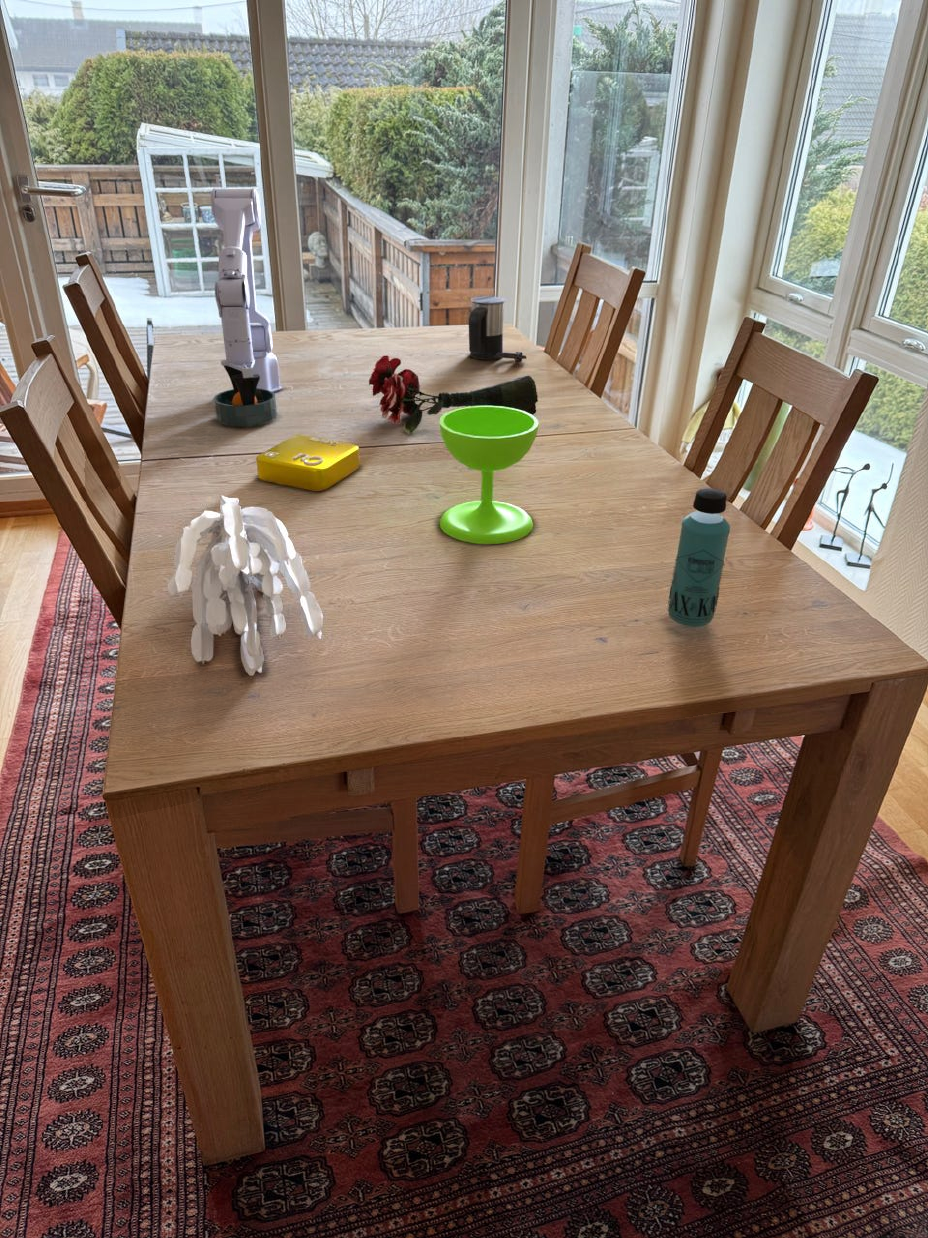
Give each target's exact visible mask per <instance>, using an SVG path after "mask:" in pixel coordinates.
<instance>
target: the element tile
mask: <svg viewBox="0 0 928 1238" xmlns="http://www.w3.org/2000/svg"><path fill="white" fill-rule="evenodd" d="M359 450H360V449H359V446H358V445H357V444H353V443H348V442H342V441H337V440H333V439H326V438H320V437H315V436H309V435H304V434H296V435H294V436H291V437H289V438H287V439H285V440H284V441H282V442H280V443H278V444H276V445H275V446H273V447H271V448H268V449H267V450H265V451H263V452H262V453H260V454H258V455H256V457H255V461H256V470H257V477H258V479H259V480H261V481H263V482H268V483H272V484H276V485H277V484H278V485H282V486H286V487H287V486H288V487H290V488H291V487H292V488H297V489H302V490H307V491H312V492H323V491H326V490H328V489H329V488H331V487H333V486H334V485H336V484H337V483H339V482H340V481H342V480H343V479H345V478H346V477H348V476H350V475H351V474H352V473H354V472H356V471H357V470H358V469H359V468H360V451H359Z"/></svg>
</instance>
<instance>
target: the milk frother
mask: <svg viewBox="0 0 928 1238" xmlns="http://www.w3.org/2000/svg"><path fill="white" fill-rule="evenodd" d="M470 301H471V311H470V314H469V317H468V350H469V351H468V352H470V353H469V356H470V357H471V358H474V359H478V360H487V361H488V360H498V359H513V360H514V362H515V363H522V362H523V360H526V359H527V355H524V354H523V352H522V351H516V352H515V353H514V352H504V315H505V314H504V313H505V311H504V310H505V302H506V299H505V298H503V297H499V296H491V295H483V296H480V295H479V296H475V297H471V298H470Z"/></svg>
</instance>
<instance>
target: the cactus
mask: <svg viewBox="0 0 928 1238" xmlns="http://www.w3.org/2000/svg"><path fill="white" fill-rule="evenodd" d="M239 501H240V499H239V498H238V497H227V496H225V495H222V494H221V495H220V496H219V512H216V511H212V510H204V511H203V513H202V514H201V515H200V516H197V517H195V518H194V519H192V520H190V524H189V525H188V526H184V527H183V528H182V533H181V536H180V538H179V539H178V540H177V542H176V544H175V552H174V557H173V567H174V570H175V572H174V574H173V575H172V577H171V579H170V581H169V582H168V584H166V587H167V591H168V594H169V595H170V596H176V595H178V597H179V598H180V600H183V594H184V593H186V592H187V591H188V590H189V588H190V589H191V592H192V599H191V602H192V618H193V620H194V622H195V623H196V624H195V625H194V627H193V629H192V631H191V639H190V649H191V656H192V657H193V659H194V660H195V662H197V663H198V662H201V663H202V665H205V662H210V661H211V660H212V659H213V657H214V649H215V648H214V647H215V646H214V641H215V640H214V639H215V638H214V635H217V636H219V637H221V636H222V634H224V635H225V634H226V632H227V631H228V630H230V629H231V627H232V624H233V629H234V632H235V634H237V635H240V647H239V648H240V660H241V662H242V663H241V664H242V665H243V668H244V671H245V673H247V674H248V676H250V677H251V676H252V677H253V676H254V675H255V674H256V672H257V673H259V674H262V672H263V671H262V670H263V664H264V661H265V656H264V653H263V647H262V645H261V634H260V632H259V630H257V629H258V624H257V622H258V610H257V602H256V598H255V595H254V592H253V587H252V585H251V584H253V585H254V587H255V588H256V589H257V590H258V591H259V592H261V593H263V595H262V599H263V601H264V603H265V608H266V611H267V614H269V615H270V617H271V621H270V623H269V635H270V638H273V639H274V638H277V637H278V639H279V640H281V639H282V635H283V634H284V633H285V631H286V628H287V622H286V618H285V616H284V614H282V612H283V611H284V610H283V609H284V607H283V600H282V599H281V594H282V593H283V590H284V585H283V582H282V580H281V579H280V578H279V577H278V576H277V573H278V572H279V573H280V575H282V576H283V578H284V581H285V583H286V586H287V588H288V589H289V591H290V593H291V594H292V595H293V596H294V597H295V598H297V599H298V601H299V606H300V608H299V616H300V621H301V629H302V632H303V634H304V636H305V637H306V639H307V640H309V641H312V639H313V638H314V637H315V636H316V637H317V638H318V639H320V640H321V639H322V635H323V634H322V628H323V623H324V616H323V612H322V611H323V610H322V609H321V607H320V605H319V602H318V600H317V597H316V596H315V594H314V593H313V592H311V591H310V590H311V588H312V585H311V582H310V578H309V574H308V571H307V569H306V568H305V567H304V563H303V558H302V555H300V553H299V552H297V551H296V550H295V547H294V543H293V542H292V540H291V539H290V537H289V532H288V530H287V527H286V526H285V525H284V523H283V521H282V520H281V519H278V518H276V516H275V515H274V513H273V512H272V511H271V510H268V509H267V508H266V507H261V506H246V507H244V508H241V505H240V504H239ZM208 534H212V535H211V537H210V541H209V542H208V545H207V547H206V548H205V550H204V552H202V554H201V555H200V557H199V559H198V561H197V562H196V564H195V577H194V578H193V576H194V575H193V571H192V570H191V565H192V564H193V562H194V560H195V557H196V554H197V550H198V543H200V541H201V540H204V539H206V537H207V535H208ZM192 578H193V579H192Z"/></svg>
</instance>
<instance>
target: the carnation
mask: <svg viewBox="0 0 928 1238" xmlns="http://www.w3.org/2000/svg"><path fill="white" fill-rule="evenodd" d="M401 364H402V361H401V359H400V358H398V357H393V358H391V359H390V356H389V355H387V354H386V355H382V356H381V357H380V358H379V359H378V360H377V361H376V363H375V365H374V368H373V371H372V373H371V375H370V377H369V379H368V385H369V386H370V385H372V396H373V397H375V396H376V395H379V394H382V395H383V396H382V397H381V399H380V401H379V404H378V405H379V406H380V410H379V411H380V413H381V418H382V419H384V420H387V421H389V423H391V424H396V423H397V424H401V414H402V413H403V414H406V415H407V416H408V417H407V418H406V421H405V423H404V430H405V432H406V433H407V434H409V435H412V434H413V432H414V431H415V430H417V428H418V427H419V425H420V423H421V421H422V419H423V412H425V411H427V412H426V414H427V415H430V416H431V415H437V414H439V413H441V411H442V409H449V408H450V407H451V408H463V407H471V406H502V407H509V408H515V409H518V410H522V411H525V412H527V413H530V414H532V415H533V416H534V415H535V414H536V413H537V406H536V403H538V402H539V398H538V391H537V384H536V381H535V379H534V378H533V377H532V376H531V375H526V376H525V375H524V376H521V377H516V378H515V379H511V380H508V381H505V382H500V383H497V384H495V385H490V386H485V387H482V388H479V389H474V390H470V391H461V392H459V391H458V392H457V391H456V392H451V393H449V392H447V391H446V392H439V393H438V395H432V394H428V393H425V392H422V391H421V389H420V388H421V387H420V380H419V376H418V375H417V374H416V373H415V372H414V371H412V370H411V369H408V368H404V369H403V370H401V371H400V372H398V373H395V372H396V370H397V368H398V367H399V366H401ZM421 396H426V397H430V398H421ZM430 400H431V401H430ZM436 400H437V401H436ZM417 402H419V403H417ZM425 403H429V404H433V405H432V406H430V407H428V408H424V409H421V407H422V405H423V404H425ZM389 413H390V415H389ZM388 415H389V416H388Z"/></svg>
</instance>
